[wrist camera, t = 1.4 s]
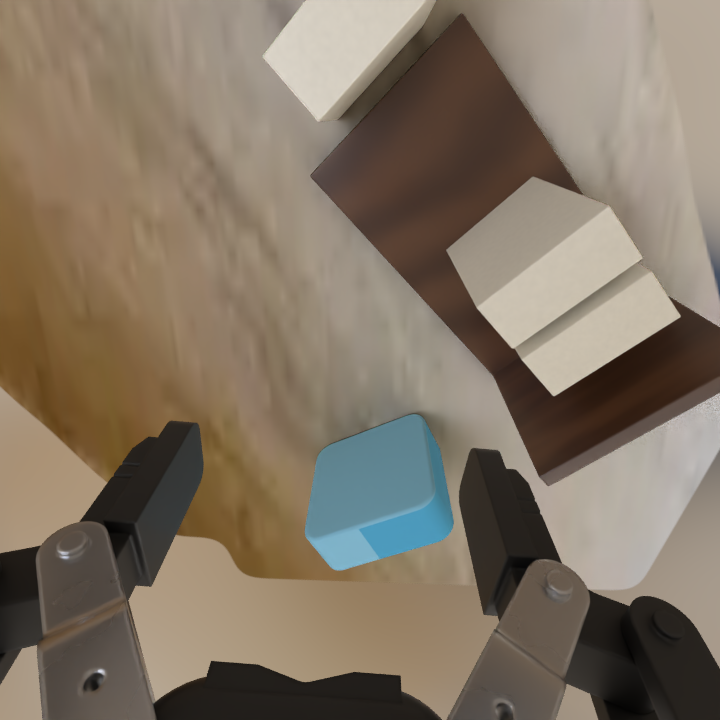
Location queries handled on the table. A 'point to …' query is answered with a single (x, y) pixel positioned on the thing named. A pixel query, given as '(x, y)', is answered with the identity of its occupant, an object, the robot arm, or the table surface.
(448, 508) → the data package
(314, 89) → the upright ivory block
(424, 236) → the dark wood bookend
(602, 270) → the cream rectangular block
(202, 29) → the table surface
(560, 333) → the white book
